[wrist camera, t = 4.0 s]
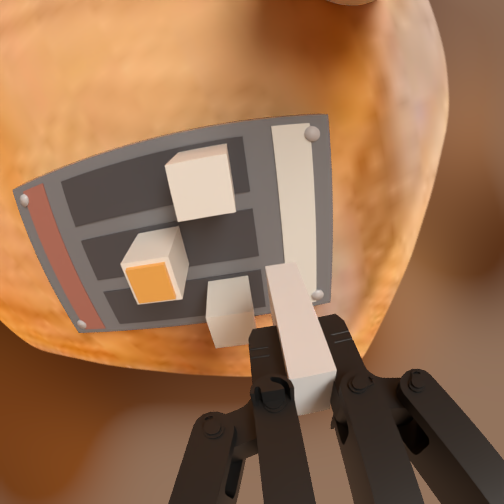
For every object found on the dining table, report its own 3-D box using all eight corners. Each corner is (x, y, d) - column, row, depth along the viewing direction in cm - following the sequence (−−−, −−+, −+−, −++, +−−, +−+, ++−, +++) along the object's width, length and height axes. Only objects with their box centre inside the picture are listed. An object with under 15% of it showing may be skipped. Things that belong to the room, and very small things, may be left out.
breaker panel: (83, 322, 24) (65, 363, 19) (22, 184, 16) (-19, 209, 12) (325, 291, 24) (346, 336, 19) (320, 113, 17) (355, 118, 12)
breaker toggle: (150, 269, 20) (136, 307, 16) (138, 233, 18) (118, 266, 14) (189, 263, 20) (181, 302, 16) (178, 225, 18) (167, 258, 14)
